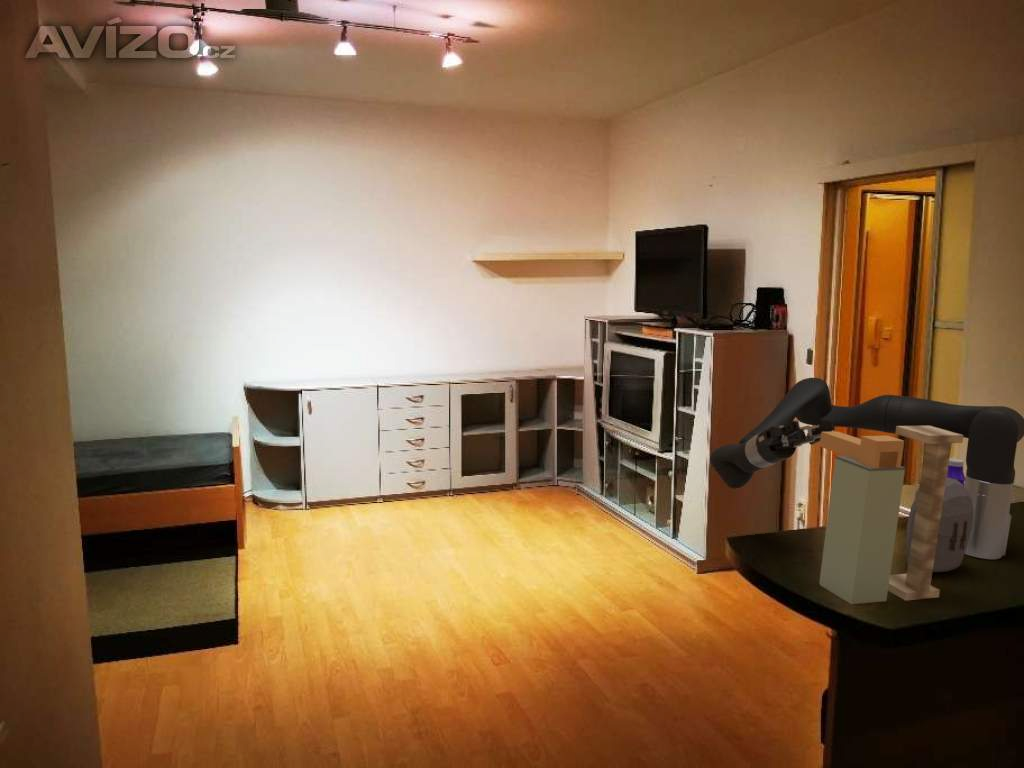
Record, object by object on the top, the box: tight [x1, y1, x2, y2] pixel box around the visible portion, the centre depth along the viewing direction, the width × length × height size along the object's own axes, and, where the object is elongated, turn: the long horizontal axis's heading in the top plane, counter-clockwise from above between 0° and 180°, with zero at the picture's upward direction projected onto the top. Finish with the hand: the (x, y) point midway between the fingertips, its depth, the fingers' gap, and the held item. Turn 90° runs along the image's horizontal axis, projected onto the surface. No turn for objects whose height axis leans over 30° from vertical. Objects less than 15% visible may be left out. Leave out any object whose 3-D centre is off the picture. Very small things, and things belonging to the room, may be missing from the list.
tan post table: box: [888, 426, 964, 602], centre depth 152 cm, size 8×8×32 cm
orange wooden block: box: [819, 431, 905, 468], centre depth 150 cm, size 6×16×5 cm, turn 17°
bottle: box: [947, 457, 966, 485], centre depth 193 cm, size 7×6×17 cm
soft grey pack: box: [905, 477, 973, 573], centre depth 164 cm, size 15×8×20 cm, turn 117°
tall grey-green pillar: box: [818, 455, 906, 605], centre depth 150 cm, size 8×9×26 cm
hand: (815, 424), depth 161 cm, fingers open, 8 cm apart
